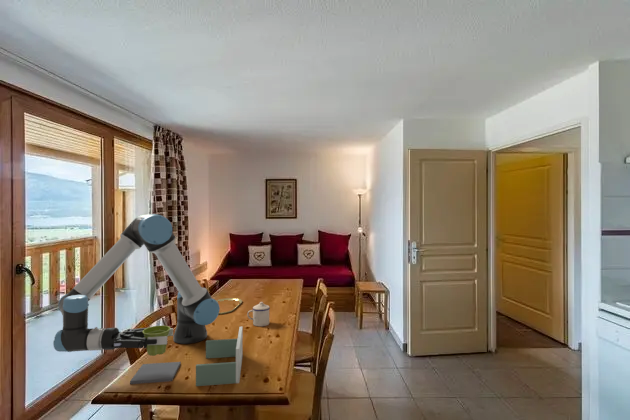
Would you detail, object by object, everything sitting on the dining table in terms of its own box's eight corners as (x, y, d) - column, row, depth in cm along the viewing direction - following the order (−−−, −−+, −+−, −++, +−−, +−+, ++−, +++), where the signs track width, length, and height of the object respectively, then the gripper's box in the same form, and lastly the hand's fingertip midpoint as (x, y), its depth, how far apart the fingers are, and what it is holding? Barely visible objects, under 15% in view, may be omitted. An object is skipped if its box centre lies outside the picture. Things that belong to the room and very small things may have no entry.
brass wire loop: (245, 300, 240) (245, 298, 240) (229, 315, 205) (229, 313, 205) (218, 300, 241) (218, 297, 241) (198, 315, 206) (198, 312, 206)
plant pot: (159, 359, 126) (160, 334, 126) (136, 356, 128) (136, 332, 128) (175, 349, 135) (175, 326, 135) (153, 347, 137) (153, 324, 137)
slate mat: (129, 384, 123) (129, 381, 123) (142, 366, 137) (142, 364, 137) (172, 381, 125) (172, 378, 125) (180, 364, 139) (180, 361, 139)
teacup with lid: (270, 321, 193) (270, 300, 193) (268, 326, 184) (268, 304, 184) (249, 321, 194) (249, 300, 194) (245, 326, 185) (245, 304, 185)
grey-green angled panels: (195, 386, 122) (195, 351, 122) (206, 357, 146) (206, 328, 146) (239, 383, 124) (239, 348, 124) (242, 355, 148) (242, 326, 148)
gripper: (91, 338, 118) (162, 335, 122) (116, 319, 139) (176, 317, 142) (90, 361, 118) (162, 357, 122) (115, 339, 139) (176, 336, 142)
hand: (169, 336), depth 132 cm, fingers closed on plant pot, 8 cm apart
